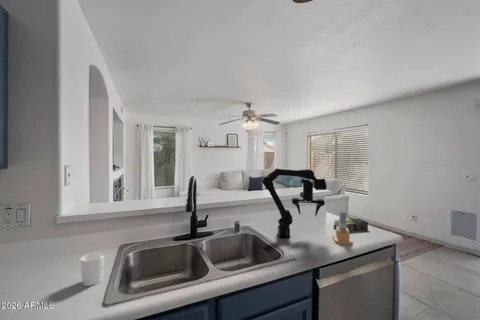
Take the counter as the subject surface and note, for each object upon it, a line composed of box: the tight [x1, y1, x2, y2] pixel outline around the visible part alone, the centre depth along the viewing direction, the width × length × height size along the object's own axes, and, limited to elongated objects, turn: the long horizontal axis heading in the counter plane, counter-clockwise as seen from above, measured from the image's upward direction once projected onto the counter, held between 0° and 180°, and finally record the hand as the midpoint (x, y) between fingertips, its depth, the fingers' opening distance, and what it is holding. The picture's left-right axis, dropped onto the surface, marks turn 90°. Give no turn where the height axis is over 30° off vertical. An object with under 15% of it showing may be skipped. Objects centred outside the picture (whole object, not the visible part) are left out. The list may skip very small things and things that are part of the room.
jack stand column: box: [338, 211, 347, 230], centre depth 128 cm, size 3×3×12 cm
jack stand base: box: [332, 227, 354, 246], centre depth 128 cm, size 9×9×7 cm
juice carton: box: [333, 218, 369, 233], centre depth 148 cm, size 20×10×6 cm, turn 101°
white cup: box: [79, 251, 105, 287], centre depth 87 cm, size 8×8×10 cm
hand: (307, 215), depth 135 cm, fingers open, 9 cm apart
